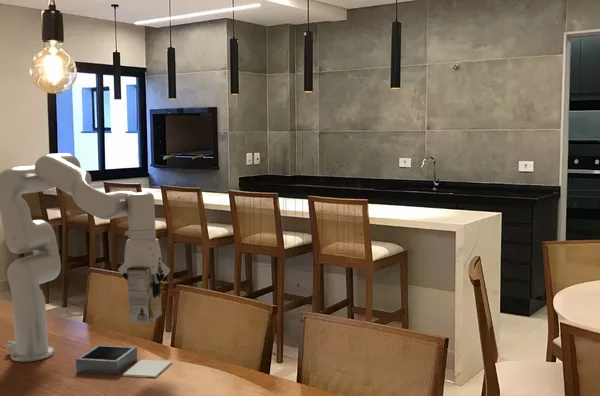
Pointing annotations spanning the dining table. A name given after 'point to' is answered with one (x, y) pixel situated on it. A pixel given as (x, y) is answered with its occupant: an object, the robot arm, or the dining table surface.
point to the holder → (95, 365)
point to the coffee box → (142, 296)
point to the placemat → (147, 368)
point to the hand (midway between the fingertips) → (145, 295)
